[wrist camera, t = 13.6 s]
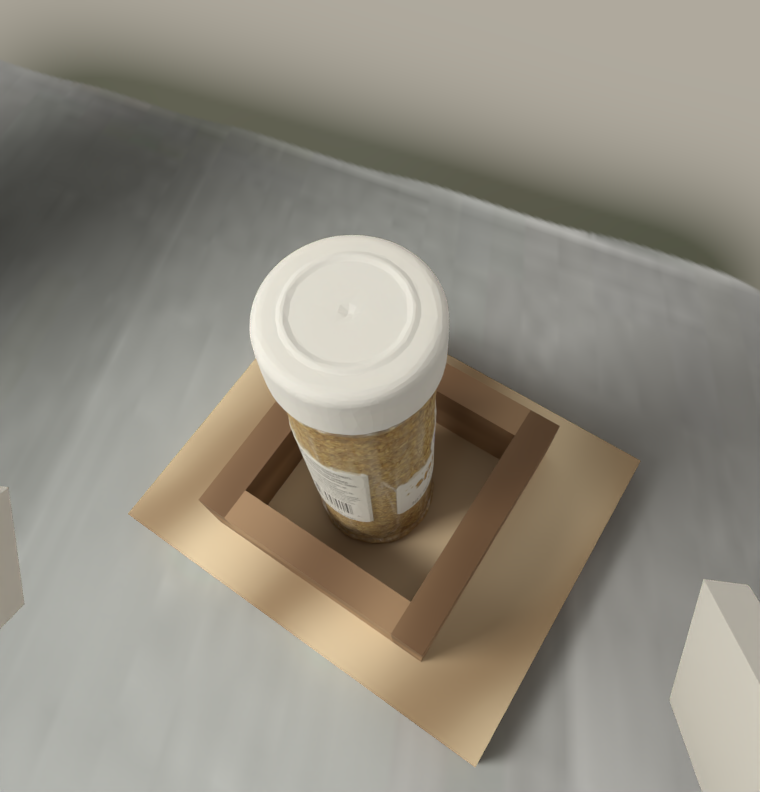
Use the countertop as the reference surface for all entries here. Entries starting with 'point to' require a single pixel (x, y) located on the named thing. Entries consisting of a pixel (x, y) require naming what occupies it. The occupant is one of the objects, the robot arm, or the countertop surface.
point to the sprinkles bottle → (357, 375)
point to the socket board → (403, 545)
